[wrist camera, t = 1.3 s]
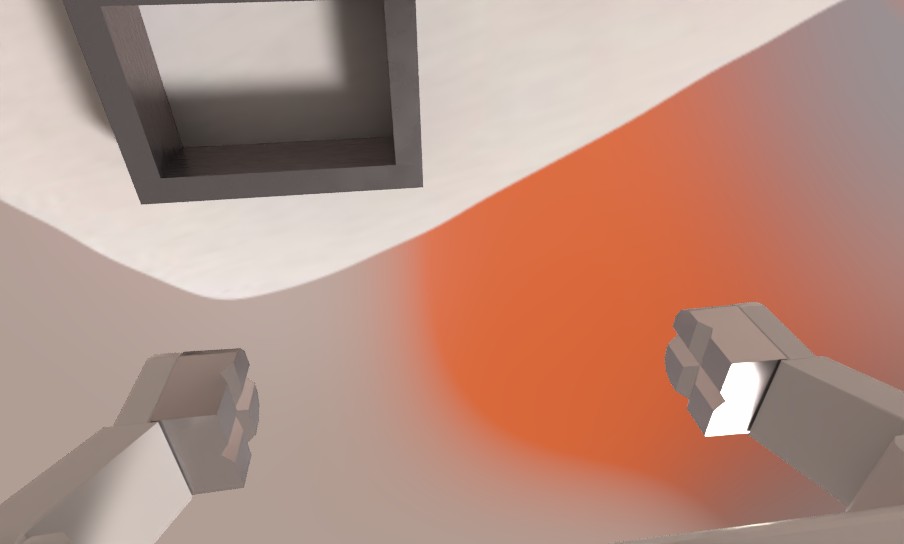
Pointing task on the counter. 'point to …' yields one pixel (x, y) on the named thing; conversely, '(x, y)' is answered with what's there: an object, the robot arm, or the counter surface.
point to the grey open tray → (240, 166)
